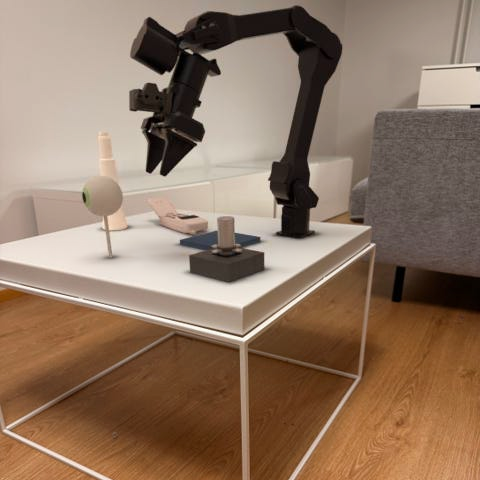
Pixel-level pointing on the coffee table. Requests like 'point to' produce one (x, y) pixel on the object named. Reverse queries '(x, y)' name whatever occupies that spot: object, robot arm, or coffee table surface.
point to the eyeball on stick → (103, 200)
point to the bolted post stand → (226, 237)
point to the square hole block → (226, 264)
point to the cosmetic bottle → (109, 170)
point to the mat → (211, 239)
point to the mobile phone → (176, 217)
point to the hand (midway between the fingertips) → (154, 174)
